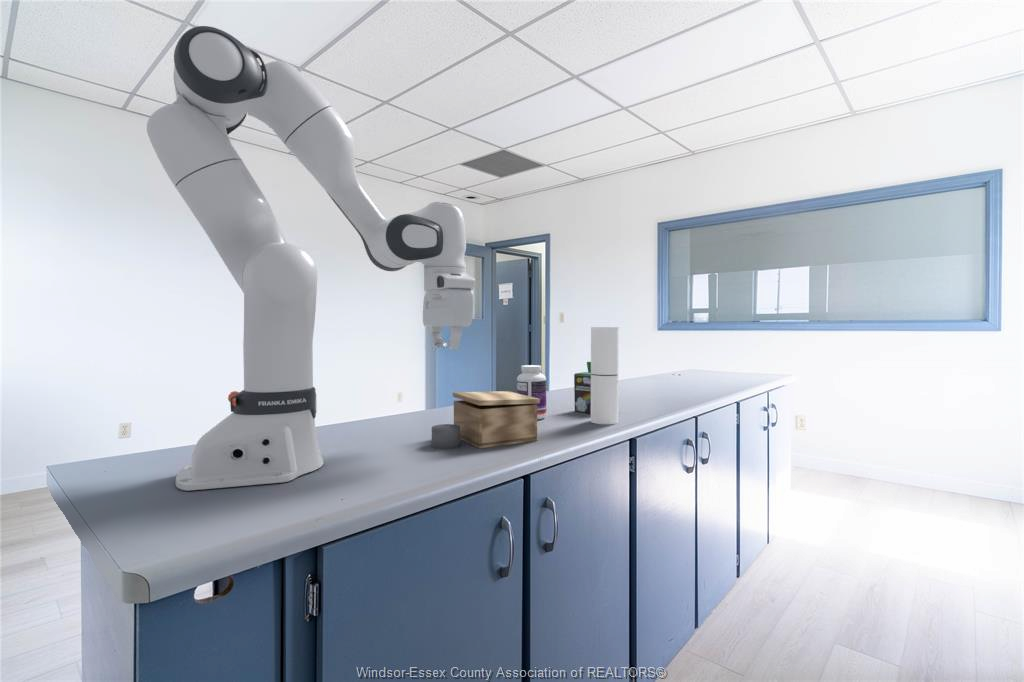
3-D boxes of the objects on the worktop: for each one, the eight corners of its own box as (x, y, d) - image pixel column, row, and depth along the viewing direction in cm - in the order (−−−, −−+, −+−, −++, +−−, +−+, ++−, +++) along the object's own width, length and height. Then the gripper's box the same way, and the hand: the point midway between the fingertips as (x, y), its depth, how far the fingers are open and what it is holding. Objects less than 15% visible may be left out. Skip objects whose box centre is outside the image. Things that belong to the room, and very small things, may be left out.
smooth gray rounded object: (437, 450, 100) (437, 431, 100) (427, 444, 106) (427, 425, 106) (464, 447, 103) (464, 428, 103) (453, 441, 109) (453, 423, 108)
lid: (479, 405, 101) (479, 400, 101) (452, 396, 114) (453, 392, 114) (539, 403, 108) (539, 398, 108) (508, 395, 121) (508, 391, 121)
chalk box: (617, 411, 146) (617, 361, 145) (597, 415, 140) (598, 363, 139) (592, 407, 153) (592, 360, 152) (573, 411, 147) (573, 361, 146)
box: (479, 448, 102) (479, 409, 101) (453, 435, 114) (453, 400, 114) (537, 440, 108) (537, 404, 108) (507, 429, 121) (507, 396, 120)
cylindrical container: (585, 421, 130) (585, 327, 130) (601, 418, 135) (602, 327, 134) (607, 425, 125) (607, 327, 124) (623, 421, 130) (624, 327, 129)
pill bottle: (547, 415, 139) (547, 364, 139) (545, 421, 131) (545, 367, 131) (519, 414, 140) (519, 364, 140) (515, 420, 132) (515, 366, 132)
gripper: (415, 285, 111) (416, 346, 112) (448, 277, 93) (449, 350, 94) (442, 286, 114) (442, 346, 115) (479, 279, 96) (479, 350, 97)
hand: (445, 348), depth 104 cm, fingers open, 8 cm apart
